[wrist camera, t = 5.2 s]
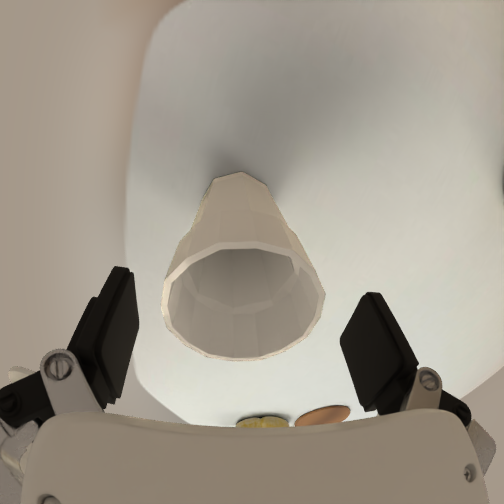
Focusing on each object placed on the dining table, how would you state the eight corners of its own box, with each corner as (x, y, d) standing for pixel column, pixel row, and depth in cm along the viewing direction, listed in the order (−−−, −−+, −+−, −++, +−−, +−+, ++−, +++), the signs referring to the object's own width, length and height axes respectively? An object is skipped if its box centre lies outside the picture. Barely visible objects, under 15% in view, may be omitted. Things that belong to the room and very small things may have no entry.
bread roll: (285, 429, 43) (288, 448, 40) (235, 433, 42) (236, 452, 39) (292, 412, 39) (296, 433, 35) (235, 415, 38) (236, 437, 35)
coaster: (287, 430, 43) (288, 432, 43) (305, 408, 38) (305, 410, 38) (336, 426, 45) (336, 427, 45) (359, 402, 40) (359, 404, 40)
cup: (173, 199, 20) (128, 300, 10) (246, 143, 18) (265, 203, 9) (228, 259, 23) (230, 376, 13) (298, 213, 21) (347, 317, 12)
